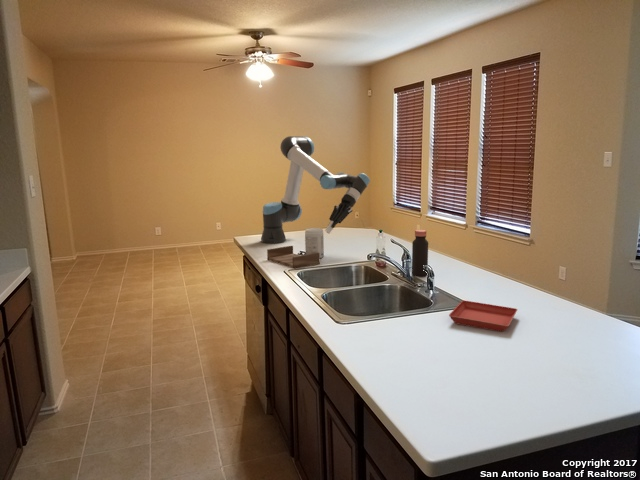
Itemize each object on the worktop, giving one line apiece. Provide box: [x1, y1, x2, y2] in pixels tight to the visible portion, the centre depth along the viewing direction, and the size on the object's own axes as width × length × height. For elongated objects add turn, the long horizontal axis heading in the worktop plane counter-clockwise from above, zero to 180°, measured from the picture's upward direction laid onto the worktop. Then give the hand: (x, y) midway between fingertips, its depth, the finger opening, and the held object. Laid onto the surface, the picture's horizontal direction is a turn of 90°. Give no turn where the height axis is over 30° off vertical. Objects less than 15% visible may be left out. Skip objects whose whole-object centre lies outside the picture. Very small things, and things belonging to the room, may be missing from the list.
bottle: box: [411, 229, 429, 278], centre depth 207 cm, size 7×7×20 cm
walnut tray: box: [266, 245, 321, 269], centre depth 237 cm, size 24×15×6 cm, turn 38°
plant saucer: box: [448, 300, 518, 332], centre depth 153 cm, size 18×18×3 cm
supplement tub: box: [304, 227, 325, 259], centre depth 245 cm, size 10×10×15 cm
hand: (327, 231), depth 249 cm, fingers closed
